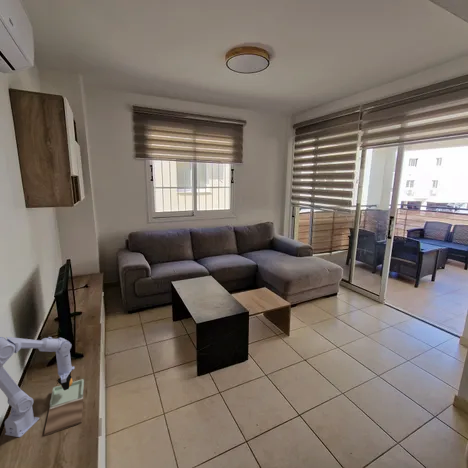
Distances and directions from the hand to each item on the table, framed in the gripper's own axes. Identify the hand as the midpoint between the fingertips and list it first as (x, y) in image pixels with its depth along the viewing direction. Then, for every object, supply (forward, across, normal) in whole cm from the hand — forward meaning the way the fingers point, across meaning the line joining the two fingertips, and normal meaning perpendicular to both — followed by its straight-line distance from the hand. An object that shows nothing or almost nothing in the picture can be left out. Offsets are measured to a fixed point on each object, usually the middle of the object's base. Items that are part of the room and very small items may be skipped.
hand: (67, 385), depth 133 cm
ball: (-2, 0, 0) cm, 2 cm away
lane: (+6, -7, 0) cm, 9 cm away
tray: (+5, 0, 0) cm, 5 cm away
